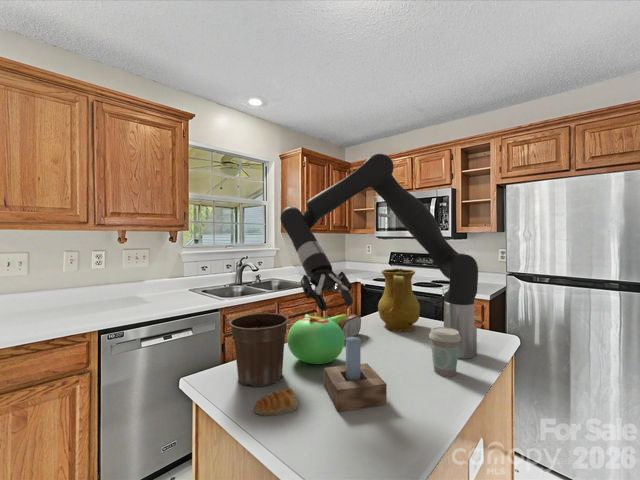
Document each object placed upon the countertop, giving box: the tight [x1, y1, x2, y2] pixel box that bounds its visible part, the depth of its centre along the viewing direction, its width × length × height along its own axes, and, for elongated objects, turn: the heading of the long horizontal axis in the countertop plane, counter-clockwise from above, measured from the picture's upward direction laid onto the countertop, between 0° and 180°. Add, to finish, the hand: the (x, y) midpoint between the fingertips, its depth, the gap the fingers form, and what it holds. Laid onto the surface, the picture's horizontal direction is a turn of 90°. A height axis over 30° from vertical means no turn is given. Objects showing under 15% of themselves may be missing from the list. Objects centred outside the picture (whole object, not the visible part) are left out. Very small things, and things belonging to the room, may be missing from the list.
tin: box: [337, 313, 362, 342], centre depth 121 cm, size 15×3×8 cm, turn 144°
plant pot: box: [228, 312, 289, 387], centre depth 89 cm, size 16×16×16 cm
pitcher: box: [377, 268, 421, 333], centre depth 134 cm, size 17×19×25 cm
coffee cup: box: [428, 326, 461, 377], centre depth 91 cm, size 8×8×12 cm
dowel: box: [345, 336, 362, 381], centre depth 78 cm, size 4×4×14 cm
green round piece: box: [286, 313, 348, 365], centre depth 100 cm, size 18×17×15 cm
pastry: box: [254, 387, 298, 416], centre depth 73 cm, size 9×7×4 cm
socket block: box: [323, 362, 388, 413], centre depth 78 cm, size 12×12×5 cm
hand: (338, 306), depth 83 cm, fingers open, 8 cm apart
